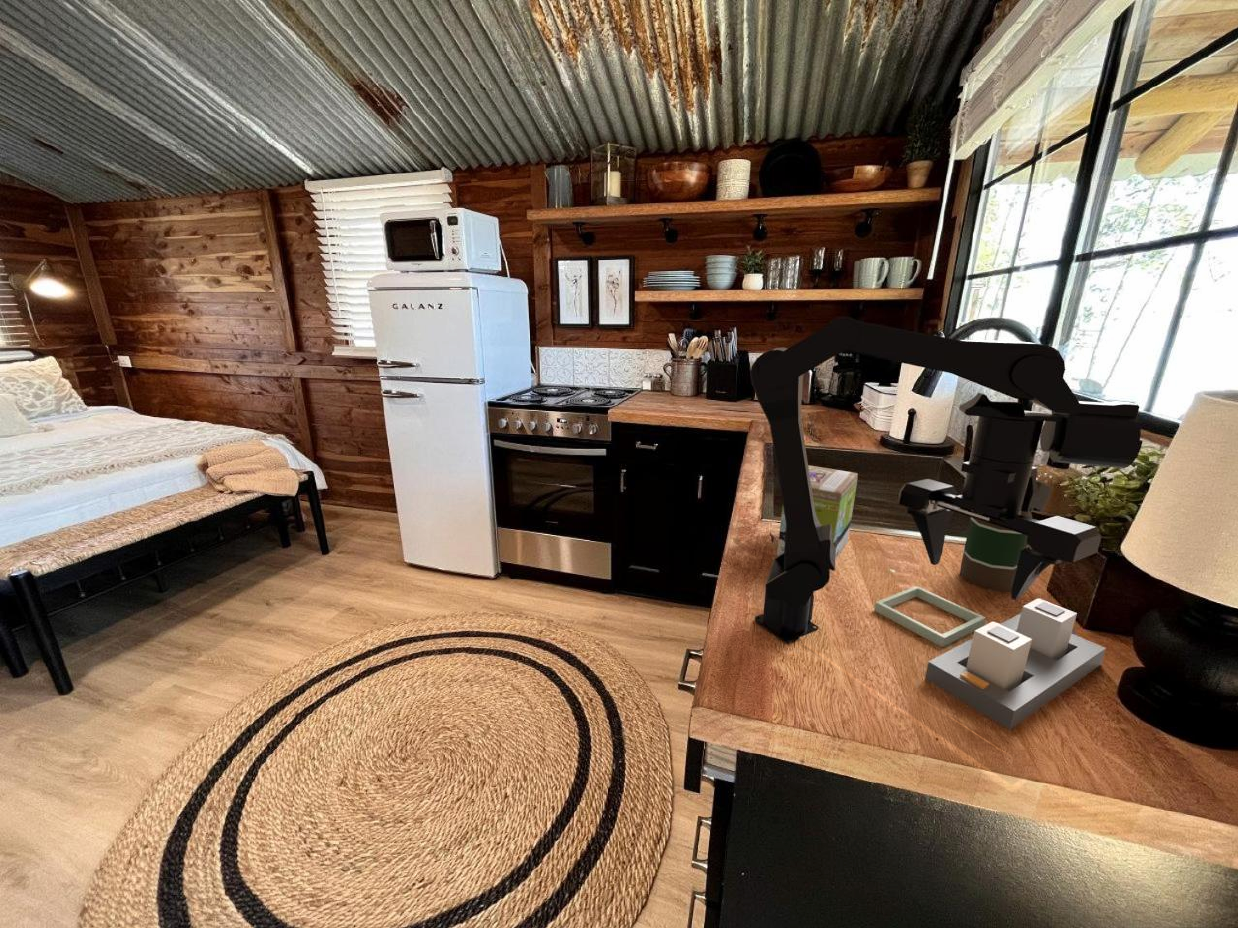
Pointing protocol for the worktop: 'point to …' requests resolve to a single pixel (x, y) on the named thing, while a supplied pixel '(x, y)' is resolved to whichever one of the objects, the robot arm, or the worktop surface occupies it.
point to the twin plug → (1047, 627)
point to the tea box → (829, 504)
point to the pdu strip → (1037, 682)
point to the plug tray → (922, 630)
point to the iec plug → (999, 655)
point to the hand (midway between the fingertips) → (972, 580)
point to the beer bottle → (992, 554)
